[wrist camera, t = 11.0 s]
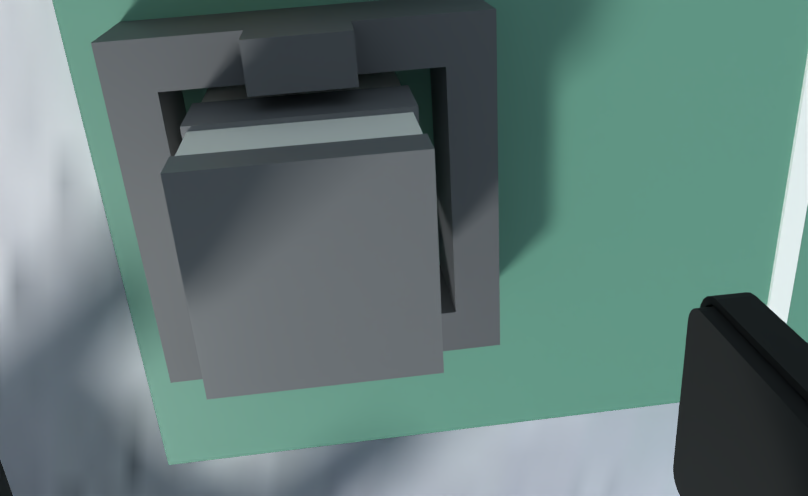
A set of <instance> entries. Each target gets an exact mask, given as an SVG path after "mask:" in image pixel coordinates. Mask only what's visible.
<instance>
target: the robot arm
mask: <svg viewBox="0 0 808 496" xmlns="http://www.w3.org/2000/svg"><path fill="white" fill-rule="evenodd" d="M673 472H674V479H675V484H676V487H677V490H678V492H679V494H680V496H808V343H807V342H806V341H805V340H804V339H802V338H801V337H800V336H799V335H798V334H797V333H796V332H795V331H794V330H793V329H792V328H790V327H789V326H788V325H787V324H786V323H785V322H784V321H783V320H782V319H781V318H779V317H778V316H777V315H776V314H775V313H774V312H773V311H772V310H771V309H770V308H769V307H767V306H766V305H765V304H764V303H763V302H762V301H761V300H760V299H759V298H758V297H757V296H755V295H754V294H752V293H750V292H743V293H734V294H724V295H715V296H707V297H705V298H704V299H703V301H702V303H701V305H700V308H694V309H692V310H691V312H690V314H689V317H688V324H687V334H686V345H685V355H684V365H683V375H682V385H681V395H680V405H679V415H678V425H677V435H676V445H675V455H674V465H673ZM0 496H13V495H12V492H11V489H10V486H9V483H8V481H7V478H6V475H5V472H4V469H3V467H2V464H1V461H0Z"/></svg>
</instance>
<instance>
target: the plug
mask: <svg viewBox="0 0 808 496" xmlns="http://www.w3.org/2000/svg"><path fill="white" fill-rule="evenodd" d="M358 81H359V87H354V88H343V89H332V90H321V91H309V92H298V93H287V94H276V95H265V96H254V97H247V92H246V85H234V86H223V87H211V88H208V89H207V91H206V94H205V96H204V98H203V100H202V102H201V103H192V105H191V107H190V108H189V110H188V112H187V114H186V116H185V118H184V120H183V122H182V123H181V125H180V130H181V136H182V142H181V144H180V146H179V148H178V150H177V152H176V154H175V156H170V157H169V158H168V160H167V162H166V164H165V166H164V168H163V170H162V172H161V179H162V184H163V189H164V194H165V199H166V203H167V208H168V213H169V218H170V223H171V228H172V233H173V237H174V242H175V247H176V252H177V257H178V262H179V267H180V271H181V276H182V281H183V286H184V291H185V296H186V301H187V306H188V310H189V315H190V320H191V325H192V330H193V335H194V340H195V344H196V349H197V354H198V359H199V364H200V369H201V374H202V378H203V383H204V388H205V393H206V398H207V400H208V399H217V398H226V397H235V396H243V395H252V394H261V393H270V392H279V391H288V390H297V389H306V388H315V387H323V386H332V385H341V384H350V383H359V382H368V381H377V380H386V379H395V378H403V377H412V376H421V375H430V374H439V373H444V361H443V338H442V314H441V291H440V267H439V244H438V220H437V196H436V173H435V149H434V147H433V145H432V143H431V140H430V138H429V136H428V134H423V133H422V131H421V128H420V126H419V108H418V104H417V102H416V100H415V98H414V96H413V94H412V92H411V90H410V88H409V86H408V85H403V86H401V84H400V82H399V80H398V77H397V75H396V73H395V71H392V72H381V73H369V74H358Z"/></svg>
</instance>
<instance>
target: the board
mask: <svg viewBox="0 0 808 496" xmlns="http://www.w3.org/2000/svg"><path fill="white" fill-rule="evenodd" d="M52 1H53V5H54V9H55V13H56V17H57V21H58V25H59V29H60V33H61V37H62V41H63V45H64V49H65V53H66V57H67V61H68V65H69V69H70V73H71V77H72V81H73V85H74V89H75V93H76V97H77V101H78V105H79V109H80V113H81V117H82V121H83V125H84V129H85V133H86V137H87V141H88V145H89V149H90V153H91V157H92V161H93V165H94V169H95V173H96V177H97V181H98V185H99V189H100V193H101V197H102V201H103V205H104V209H105V213H106V217H107V221H108V225H109V229H110V233H111V237H112V241H113V245H114V249H115V253H116V257H117V261H118V265H119V269H120V273H121V277H122V281H123V285H124V289H125V293H126V297H127V301H128V305H129V309H130V313H131V317H132V321H133V325H134V329H135V333H136V337H137V341H138V345H139V349H140V353H141V357H142V361H143V365H144V369H145V373H146V377H147V381H148V385H149V389H150V393H151V397H152V401H153V405H154V409H155V413H156V417H157V421H158V425H159V429H160V433H161V437H162V441H163V445H164V449H165V453H166V456H167V460H168V464H169V465H173V464H181V463H189V462H198V461H206V460H214V459H222V458H230V457H238V456H246V455H255V454H263V453H271V452H279V451H287V450H295V449H303V448H311V447H320V446H328V445H336V444H344V443H352V442H360V441H368V440H377V439H385V438H393V437H401V436H409V435H417V434H425V433H434V432H442V431H450V430H458V429H466V428H474V427H482V426H490V425H499V424H507V423H515V422H523V421H531V420H539V419H547V418H556V417H564V416H572V415H580V414H588V413H596V412H604V411H613V410H621V409H629V408H637V407H645V406H653V405H661V404H670V403H678V402H680V395H681V385H682V375H683V365H684V355H685V345H686V334H687V324H688V317H689V314H690V312H691V310H692V309H694V308H700V305H701V303H702V301H703V299H704V298H705V297H707V296H715V295H724V294H734V293H743V292H750V293H752V294H754V295H755V296H757V297H758V298H759V299H760V300H761V301H762V302H763V303H764V304H765V305H766V306H767V307H769V308H770V309H771V310H772V311H773V312H774V313H775V314H776V315H777V316H778V317H779V318H781V319H782V320H783V321H784V322H785V323H786V324H787V325H788V326H789V327H790V328H792V329H793V330H794V331H795V332H796V333H797V334H798V335H799V336H800V337H801V338H802V339H804V340H805V341H806V342H807V343H808V0H52ZM392 71H395V73H396V75H397V77H398V80H399V82H400V84H401V86H403V85H408V86H409V88H410V90H411V92H412V94H413V96H414V98H415V100H416V102H417V104H418V108H419V126H420V128H421V131H422V133H423V134H428V136H429V138H430V140H431V143H432V145H433V147H434V149H435V173H436V196H437V220H438V244H439V267H440V291H441V314H442V338H443V361H444V373H439V374H430V375H421V376H412V377H403V378H395V379H386V380H377V381H368V382H359V383H350V384H341V385H332V386H323V387H315V388H306V389H297V390H288V391H279V392H270V393H261V394H252V395H243V396H235V397H226V398H217V399H208V400H207V398H206V393H205V388H204V383H203V378H202V374H201V369H200V364H199V359H198V354H197V349H196V344H195V340H194V335H193V330H192V325H191V320H190V315H189V310H188V306H187V301H186V296H185V291H184V286H183V281H182V276H181V271H180V267H179V262H178V257H177V252H176V247H175V242H174V237H173V233H172V228H171V223H170V218H169V213H168V208H167V203H166V199H165V194H164V189H163V184H162V179H161V172H162V170H163V168H164V166H165V164H166V162H167V160H168V158H169V157H170V156H175V154H176V152H177V150H178V148H179V146H180V144H181V142H182V136H181V130H180V125H181V123H182V122H183V120H184V118H185V116H186V114H187V112H188V110H189V108H190V107H191V105H192V103H201V102H202V100H203V98H204V96H205V94H206V91H207V89H208V88H211V87H223V86H234V85H246V92H247V97H254V96H265V95H276V94H287V93H298V92H309V91H321V90H332V89H343V88H354V87H359V81H358V74H369V73H381V72H392Z"/></svg>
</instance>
